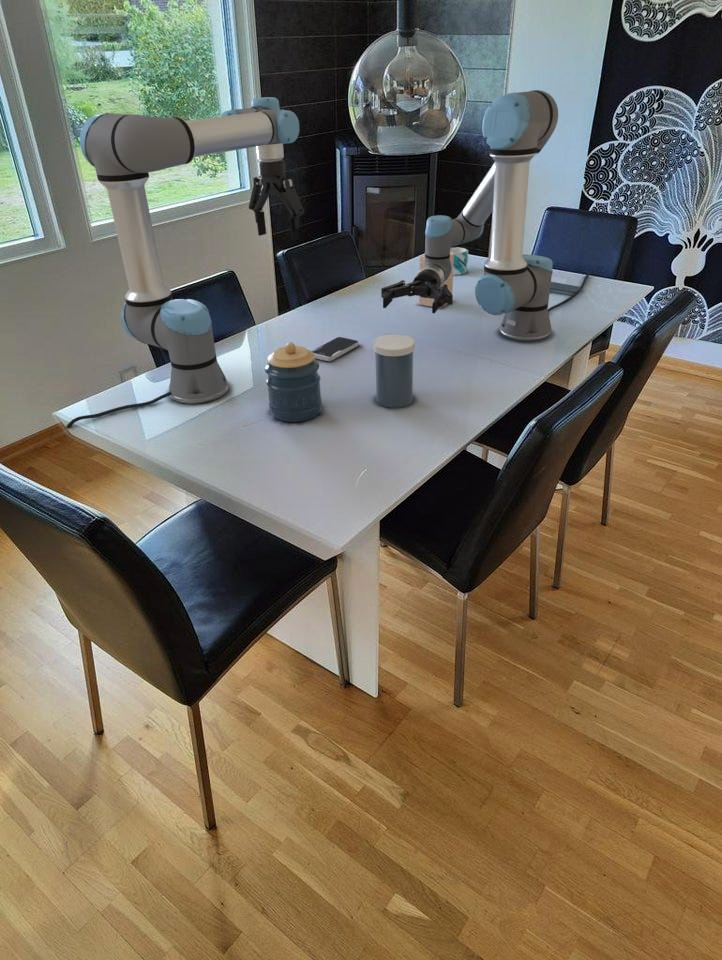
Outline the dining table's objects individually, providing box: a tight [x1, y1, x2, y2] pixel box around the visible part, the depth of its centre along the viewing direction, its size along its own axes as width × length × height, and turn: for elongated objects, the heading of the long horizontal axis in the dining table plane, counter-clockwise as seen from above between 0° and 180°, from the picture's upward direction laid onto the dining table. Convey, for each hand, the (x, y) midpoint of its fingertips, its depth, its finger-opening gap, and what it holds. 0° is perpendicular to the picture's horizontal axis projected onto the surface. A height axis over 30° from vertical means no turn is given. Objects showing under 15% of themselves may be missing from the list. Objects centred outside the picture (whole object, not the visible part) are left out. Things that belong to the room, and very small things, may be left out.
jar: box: [374, 351, 414, 409], centre depth 166 cm, size 9×9×15 cm
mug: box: [450, 246, 469, 276], centre depth 261 cm, size 8×12×8 cm
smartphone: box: [311, 336, 359, 362], centre depth 198 cm, size 8×1×15 cm
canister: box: [264, 342, 323, 423], centre depth 161 cm, size 13×13×18 cm
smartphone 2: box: [550, 281, 582, 296], centre depth 238 cm, size 8×2×15 cm
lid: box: [373, 333, 416, 356], centre depth 162 cm, size 10×10×2 cm
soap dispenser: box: [418, 253, 454, 309], centre depth 227 cm, size 13×9×22 cm
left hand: (278, 237), depth 202 cm, fingers open, 13 cm apart
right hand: (408, 305), depth 178 cm, fingers open, 13 cm apart
